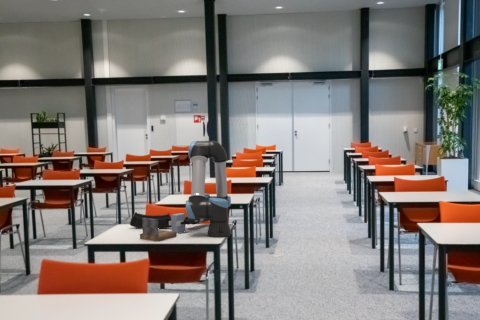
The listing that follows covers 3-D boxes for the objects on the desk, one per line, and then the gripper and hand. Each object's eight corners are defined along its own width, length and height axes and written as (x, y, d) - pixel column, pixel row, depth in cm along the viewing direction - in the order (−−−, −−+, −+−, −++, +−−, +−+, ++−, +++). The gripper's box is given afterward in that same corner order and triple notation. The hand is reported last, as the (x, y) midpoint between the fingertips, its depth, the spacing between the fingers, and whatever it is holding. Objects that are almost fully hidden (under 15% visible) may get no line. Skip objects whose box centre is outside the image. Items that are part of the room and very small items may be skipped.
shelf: (176, 236, 329) (175, 216, 328) (158, 241, 316) (158, 220, 315) (158, 234, 338) (157, 214, 338) (140, 238, 325) (139, 218, 325)
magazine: (176, 215, 356) (136, 202, 361) (175, 216, 353) (134, 203, 358) (170, 239, 358) (130, 226, 363) (169, 240, 355) (128, 226, 360)
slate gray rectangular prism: (185, 231, 345) (185, 213, 344) (177, 233, 338) (176, 215, 337) (179, 231, 348) (179, 213, 347) (171, 233, 341) (171, 214, 340)
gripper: (206, 224, 352) (184, 230, 333) (185, 222, 363) (162, 228, 344) (206, 213, 352) (183, 219, 333) (185, 211, 362) (162, 216, 343)
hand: (173, 223), depth 338 cm, fingers open, 6 cm apart
